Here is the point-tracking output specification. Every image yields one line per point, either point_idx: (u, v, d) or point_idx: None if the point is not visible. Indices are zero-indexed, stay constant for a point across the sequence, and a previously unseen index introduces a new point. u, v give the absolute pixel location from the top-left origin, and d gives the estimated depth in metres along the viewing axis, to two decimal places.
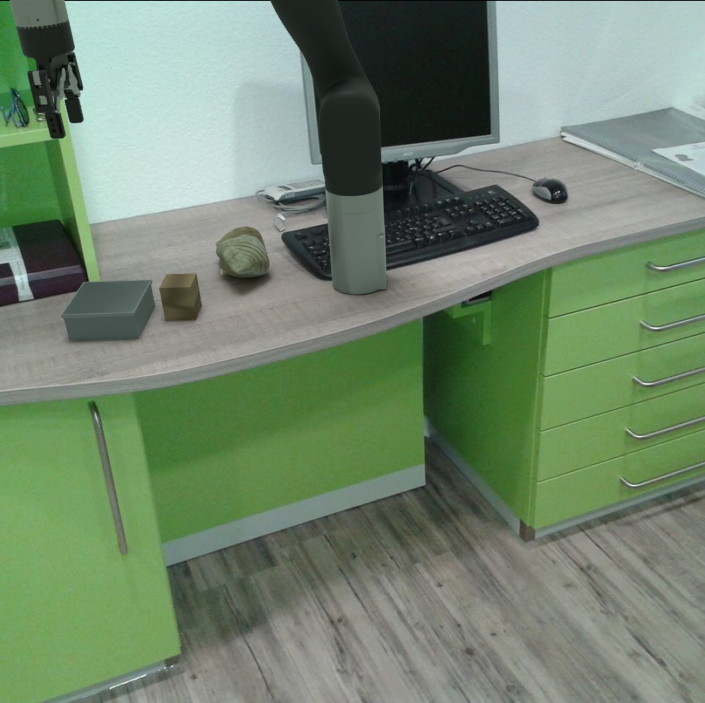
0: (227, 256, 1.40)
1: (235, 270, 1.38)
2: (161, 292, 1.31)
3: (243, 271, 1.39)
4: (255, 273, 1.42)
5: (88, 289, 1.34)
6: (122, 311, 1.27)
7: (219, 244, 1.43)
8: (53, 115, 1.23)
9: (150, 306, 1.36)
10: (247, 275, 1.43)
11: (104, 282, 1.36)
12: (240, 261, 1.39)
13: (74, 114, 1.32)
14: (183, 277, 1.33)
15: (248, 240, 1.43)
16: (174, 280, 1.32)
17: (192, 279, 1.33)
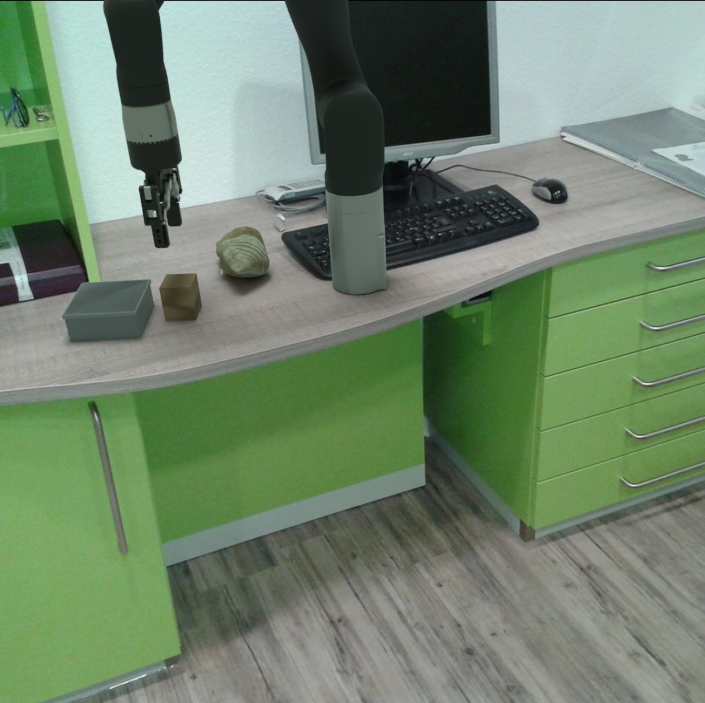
0: (227, 256, 1.40)
1: (235, 270, 1.38)
2: (161, 292, 1.31)
3: (243, 271, 1.39)
4: (255, 273, 1.42)
5: (87, 289, 1.34)
6: (124, 310, 1.27)
7: (219, 244, 1.43)
8: (160, 227, 1.22)
9: (150, 306, 1.36)
10: (247, 275, 1.43)
11: (102, 282, 1.36)
12: (240, 261, 1.39)
13: (173, 218, 1.31)
14: (183, 277, 1.33)
15: (249, 240, 1.43)
16: (174, 281, 1.32)
17: (192, 279, 1.33)
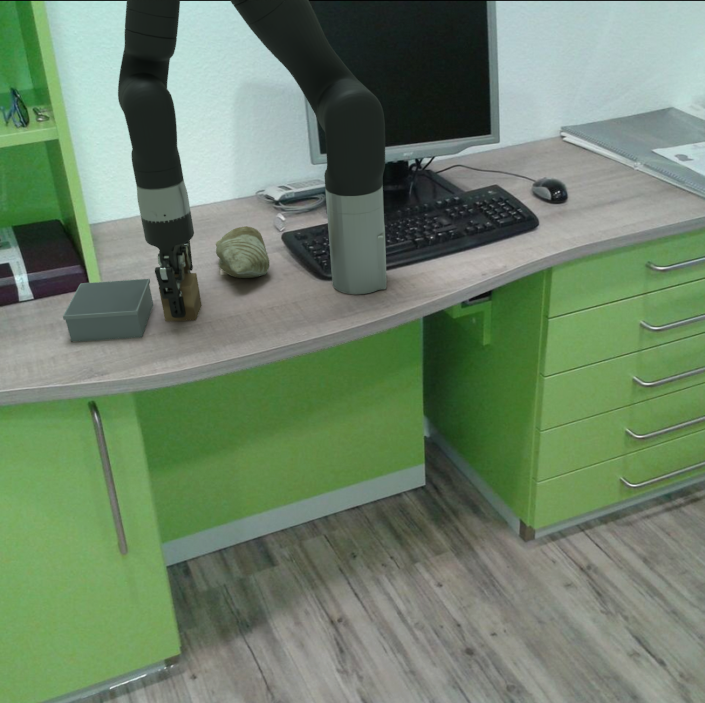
0: (227, 256, 1.40)
1: (235, 270, 1.38)
2: None
3: (243, 271, 1.39)
4: (255, 273, 1.42)
5: (86, 290, 1.34)
6: (125, 310, 1.27)
7: (219, 244, 1.43)
8: (177, 299, 1.30)
9: (149, 305, 1.36)
10: (247, 275, 1.43)
11: (101, 282, 1.36)
12: (240, 261, 1.39)
13: None
14: None
15: (249, 240, 1.43)
16: None
17: (192, 279, 1.33)
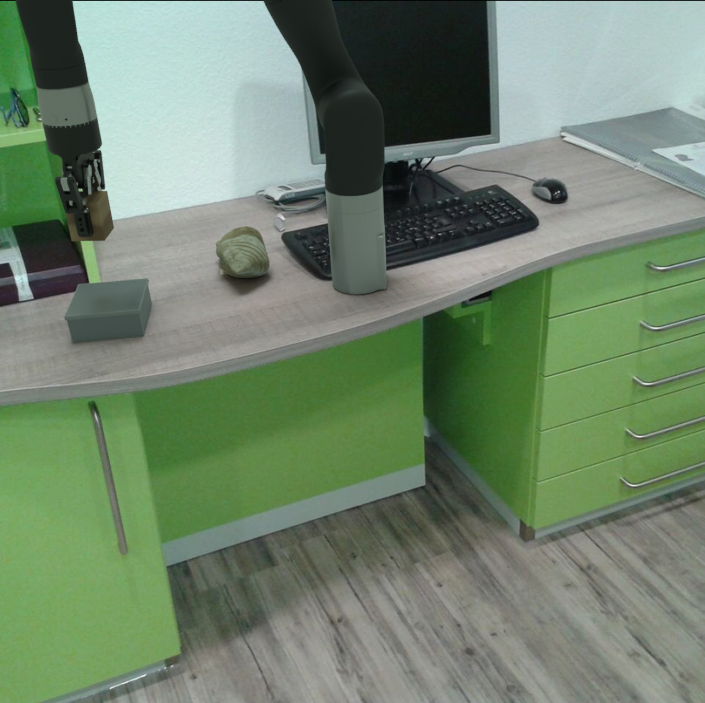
0: (227, 256, 1.40)
1: (235, 270, 1.38)
2: None
3: (243, 271, 1.39)
4: (255, 273, 1.42)
5: (85, 290, 1.34)
6: (127, 309, 1.28)
7: (219, 244, 1.43)
8: (82, 215, 1.21)
9: (149, 305, 1.36)
10: (247, 275, 1.43)
11: (99, 283, 1.36)
12: (240, 261, 1.39)
13: None
14: (91, 194, 1.24)
15: (248, 240, 1.43)
16: (81, 197, 1.23)
17: (101, 196, 1.23)
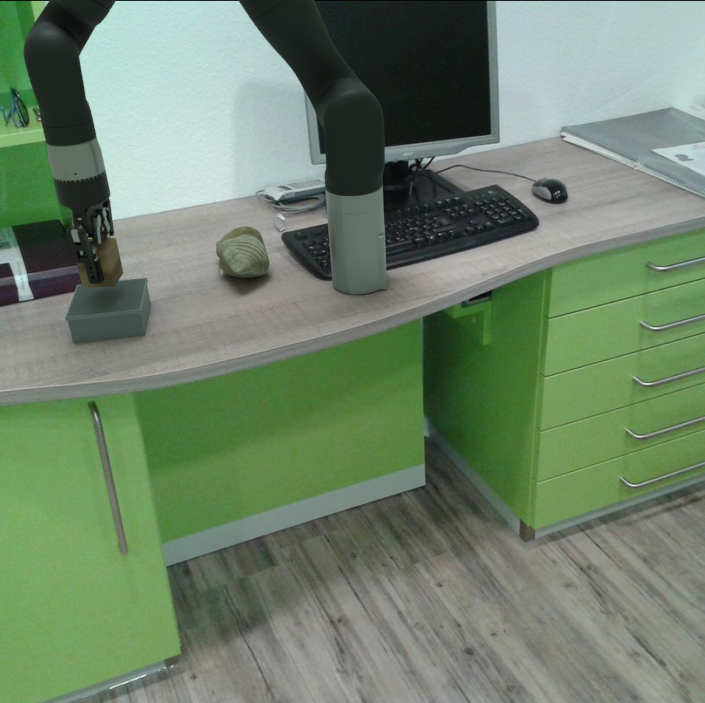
0: (227, 256, 1.40)
1: (235, 270, 1.38)
2: None
3: (243, 271, 1.39)
4: (255, 273, 1.42)
5: (85, 291, 1.34)
6: (128, 309, 1.28)
7: (219, 244, 1.43)
8: (92, 263, 1.24)
9: (148, 304, 1.37)
10: (247, 275, 1.43)
11: None
12: (240, 261, 1.39)
13: None
14: (101, 241, 1.28)
15: (249, 240, 1.43)
16: None
17: (110, 243, 1.27)
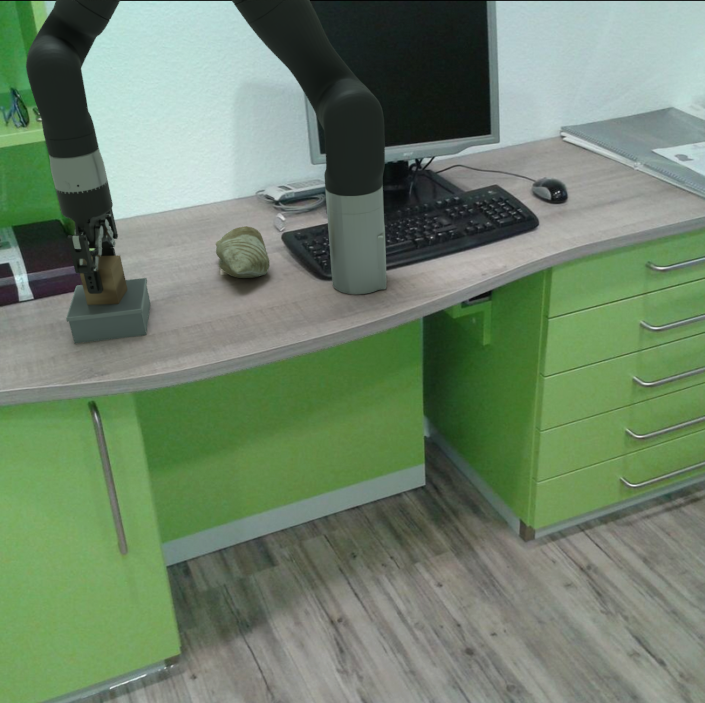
0: (227, 256, 1.40)
1: (235, 270, 1.38)
2: (81, 274, 1.27)
3: (243, 271, 1.39)
4: (255, 273, 1.42)
5: None
6: (129, 309, 1.28)
7: (219, 244, 1.43)
8: (92, 273, 1.24)
9: (148, 304, 1.37)
10: (247, 275, 1.43)
11: None
12: (240, 261, 1.39)
13: None
14: (105, 259, 1.30)
15: (249, 240, 1.43)
16: None
17: (114, 261, 1.29)
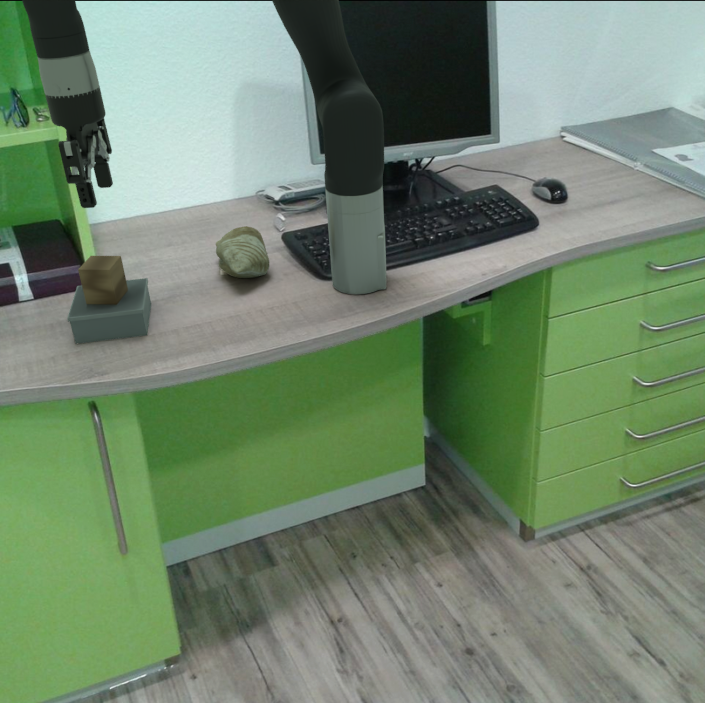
0: (227, 256, 1.40)
1: (235, 270, 1.38)
2: (80, 274, 1.27)
3: (243, 271, 1.39)
4: (255, 273, 1.42)
5: None
6: (130, 309, 1.28)
7: (219, 244, 1.43)
8: (84, 185, 1.18)
9: (149, 304, 1.37)
10: (247, 275, 1.43)
11: None
12: (240, 260, 1.39)
13: (103, 178, 1.27)
14: (106, 259, 1.29)
15: (248, 240, 1.43)
16: (95, 262, 1.29)
17: (114, 262, 1.28)
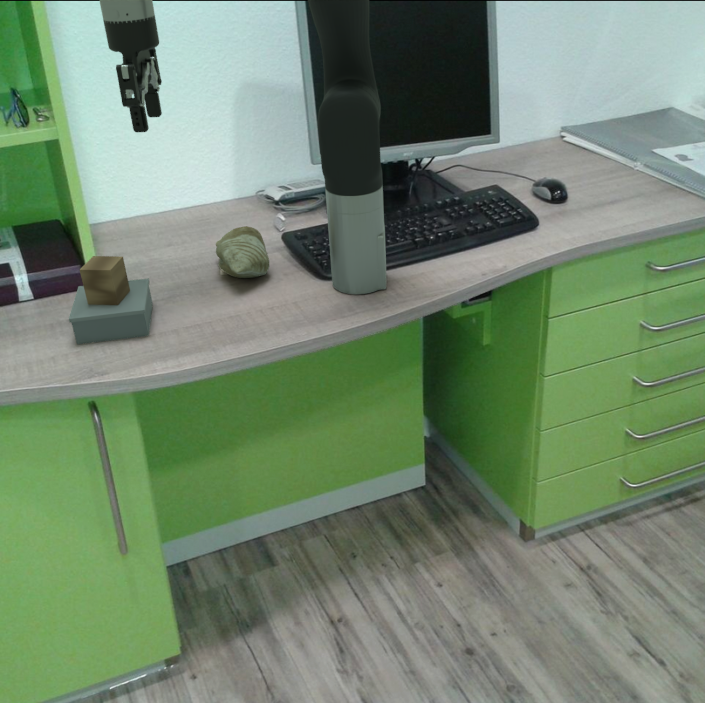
0: (227, 256, 1.40)
1: (235, 270, 1.38)
2: (82, 274, 1.27)
3: (243, 271, 1.39)
4: (255, 273, 1.42)
5: None
6: (132, 309, 1.27)
7: (219, 244, 1.43)
8: (138, 109, 1.24)
9: (150, 305, 1.36)
10: (247, 275, 1.43)
11: None
12: (240, 261, 1.39)
13: (153, 108, 1.33)
14: (108, 259, 1.29)
15: (248, 240, 1.43)
16: (97, 263, 1.28)
17: (116, 262, 1.28)
